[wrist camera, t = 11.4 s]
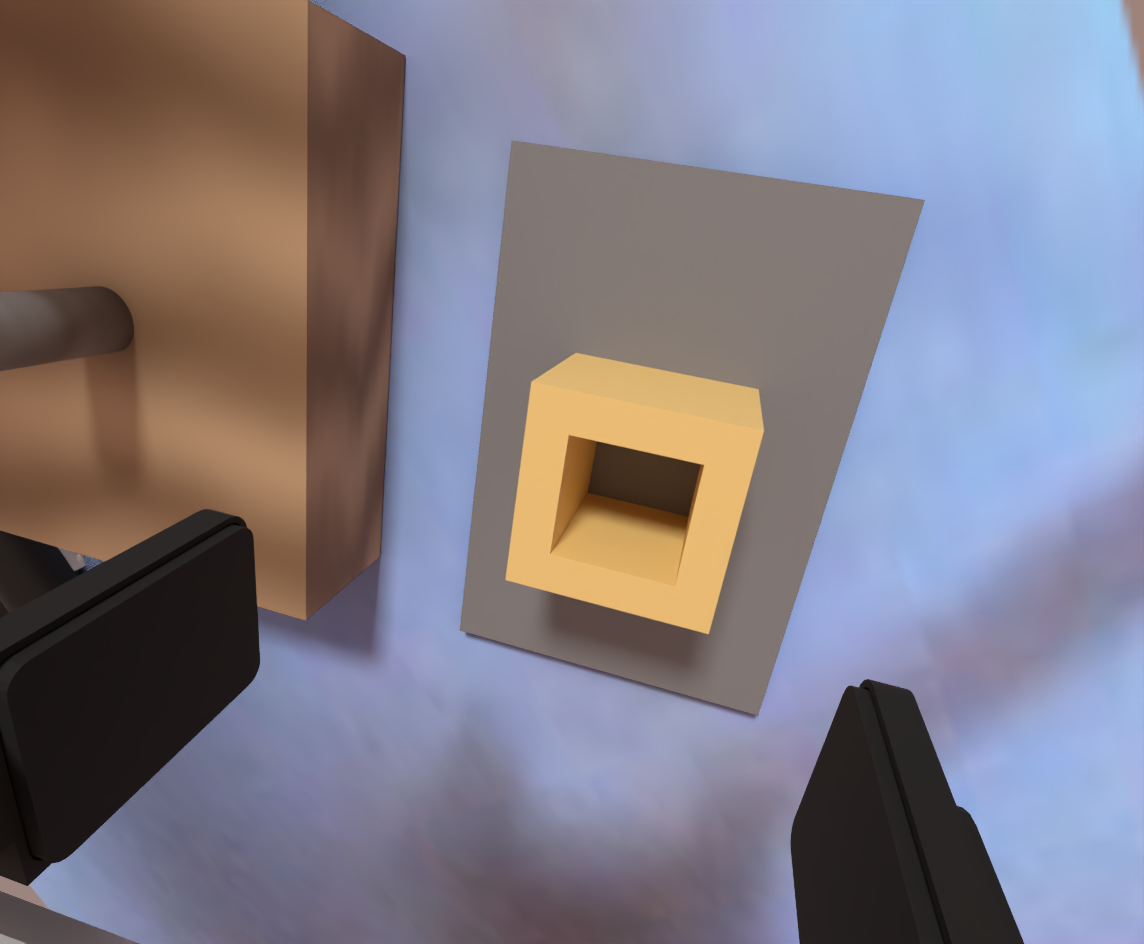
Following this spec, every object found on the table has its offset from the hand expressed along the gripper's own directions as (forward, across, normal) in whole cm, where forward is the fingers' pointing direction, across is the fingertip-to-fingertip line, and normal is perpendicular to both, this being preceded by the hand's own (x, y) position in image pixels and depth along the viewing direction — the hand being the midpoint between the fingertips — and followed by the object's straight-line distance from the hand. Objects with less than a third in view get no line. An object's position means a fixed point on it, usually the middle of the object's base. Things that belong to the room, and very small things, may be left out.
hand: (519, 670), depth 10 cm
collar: (+13, -1, +1) cm, 13 cm away
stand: (+14, +16, -1) cm, 22 cm away
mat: (+14, -1, +1) cm, 14 cm away
